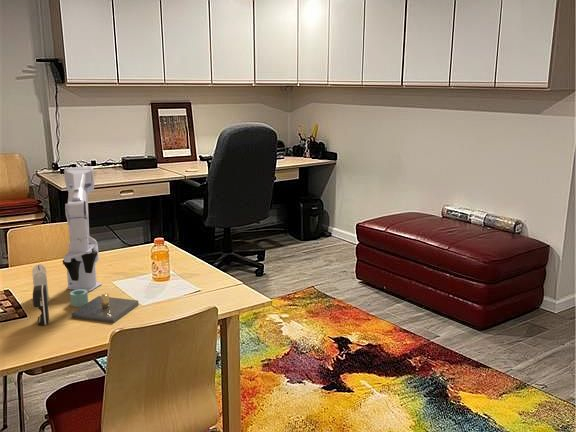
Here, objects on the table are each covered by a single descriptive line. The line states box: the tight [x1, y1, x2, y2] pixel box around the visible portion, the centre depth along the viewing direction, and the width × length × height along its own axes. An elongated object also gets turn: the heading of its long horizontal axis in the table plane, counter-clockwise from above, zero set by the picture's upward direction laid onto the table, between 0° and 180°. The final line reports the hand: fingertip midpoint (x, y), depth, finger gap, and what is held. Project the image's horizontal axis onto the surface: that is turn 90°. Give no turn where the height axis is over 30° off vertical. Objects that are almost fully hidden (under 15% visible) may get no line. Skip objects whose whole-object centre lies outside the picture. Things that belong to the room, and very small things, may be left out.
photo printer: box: [31, 263, 50, 303], centre depth 185 cm, size 10×4×12 cm, turn 26°
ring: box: [69, 289, 89, 308], centre depth 183 cm, size 5×5×4 cm
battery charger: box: [32, 285, 50, 326], centre depth 168 cm, size 7×4×11 cm, turn 22°
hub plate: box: [71, 293, 139, 324], centre depth 177 cm, size 15×15×6 cm
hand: (82, 276), depth 182 cm, fingers open, 7 cm apart
